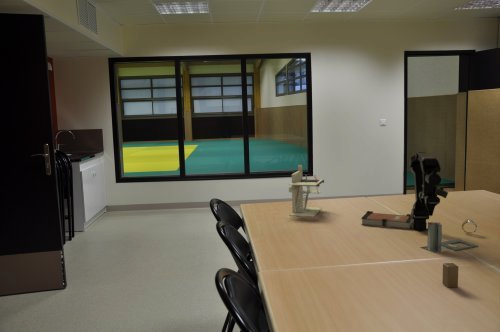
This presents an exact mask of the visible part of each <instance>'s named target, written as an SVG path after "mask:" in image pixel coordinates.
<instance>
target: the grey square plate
mask: <svg viewBox="0 0 500 332" xmlns="http://www.w3.org/2000/svg"><path fill="white" fill-rule="evenodd" d="M427 246H428V245H425V246H421V247H419V248H420V249H422V250H425V251H427V252H430V253H433V254H437V253H442V252H447V251H449V249H448V248H445V247H442V246H441V250H437V248H433V250H429V249H428V247H427Z"/></svg>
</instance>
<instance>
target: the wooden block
mask: <svg viewBox="0 0 500 332" xmlns="http://www.w3.org/2000/svg"><path fill="white" fill-rule="evenodd" d="M442 284H443V285H444V286H445V287H446V288H449V289H450V288H459V266H458V265H457V264H455V263H453V262H445V263H442Z"/></svg>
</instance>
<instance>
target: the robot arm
mask: <svg viewBox="0 0 500 332" xmlns="http://www.w3.org/2000/svg"><path fill="white" fill-rule="evenodd" d="M408 164H409V165H408V166H409V168H410V172H411V173H412V174H413V178H414V195H415V201H414V203H413V205H412V209H411V211H410V214H411V218H412V219H413V223H412V227H410V229H411V230H415V231H417V232H423V231H424V232H425V231H428V227H427V226H428V222H427V220H429V219H430V217H432V216H434V215H433V214H434V211H435V208H436V206H438V205H439V204H440V203H441V198H440V197H442V198H444V199H447V197H448V194H449V191H446V190H444V189H445V188H444V187H441V186H439V187H438V185H440V184H441V182H442V177H441V176H440V175H439V173H440V172H441V170H442V169H441V165H440V161H439V160H438V159H437V158H436V157H431V156H429V155H428V154H427V152H425V151H417V152H415V153H414V155H412V156H411V157H410V159H409V162H408Z"/></svg>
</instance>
